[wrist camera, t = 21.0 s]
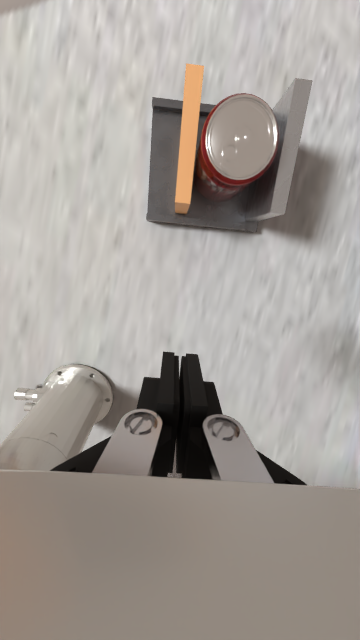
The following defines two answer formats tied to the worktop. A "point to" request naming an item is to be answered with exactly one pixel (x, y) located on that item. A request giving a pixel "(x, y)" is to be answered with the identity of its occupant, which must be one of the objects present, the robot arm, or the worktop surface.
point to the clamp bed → (248, 205)
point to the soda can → (235, 146)
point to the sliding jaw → (188, 136)
